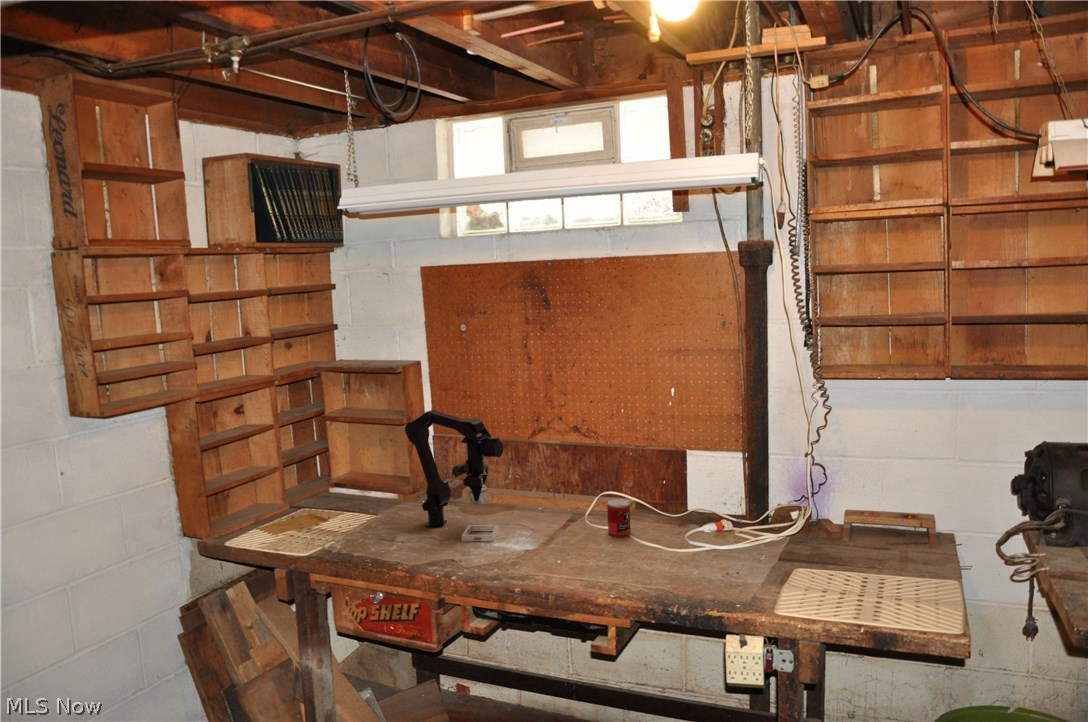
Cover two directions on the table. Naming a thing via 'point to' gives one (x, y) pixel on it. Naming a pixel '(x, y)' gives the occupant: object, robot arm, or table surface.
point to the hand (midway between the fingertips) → (478, 498)
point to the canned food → (618, 517)
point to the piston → (481, 499)
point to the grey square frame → (480, 537)
